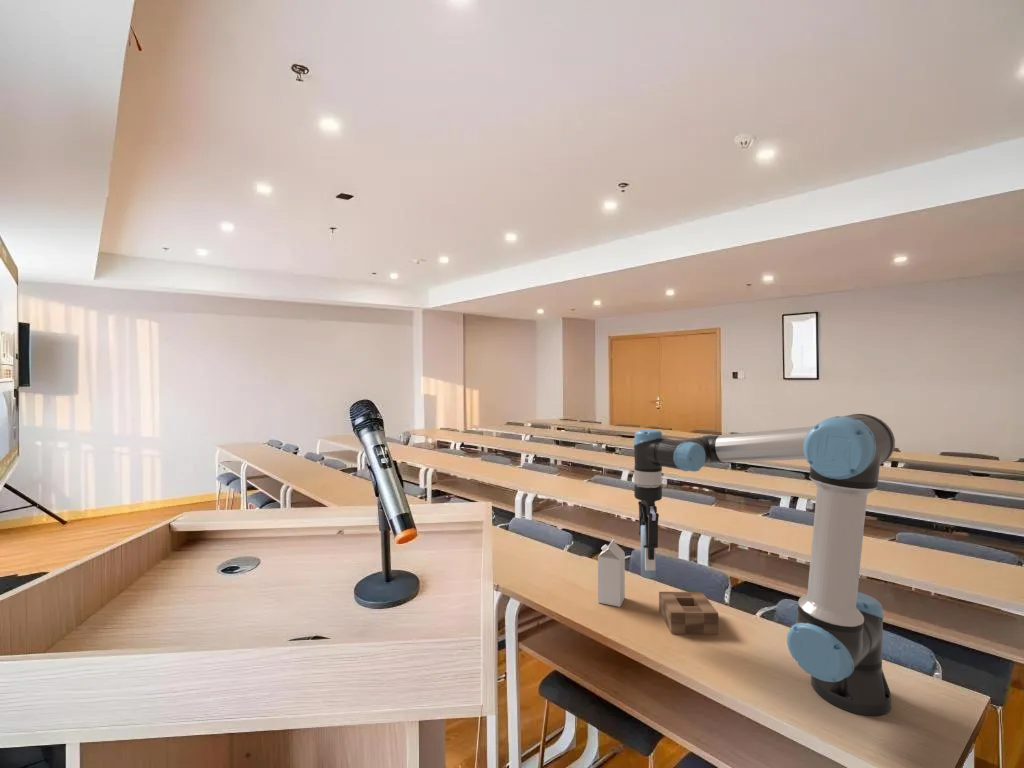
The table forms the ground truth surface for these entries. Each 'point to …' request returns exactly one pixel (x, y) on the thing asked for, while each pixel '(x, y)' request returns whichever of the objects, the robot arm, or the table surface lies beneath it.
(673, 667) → the table surface
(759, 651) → the table surface
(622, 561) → the milk carton
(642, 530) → the peg
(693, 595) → the socket block
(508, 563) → the table surface
